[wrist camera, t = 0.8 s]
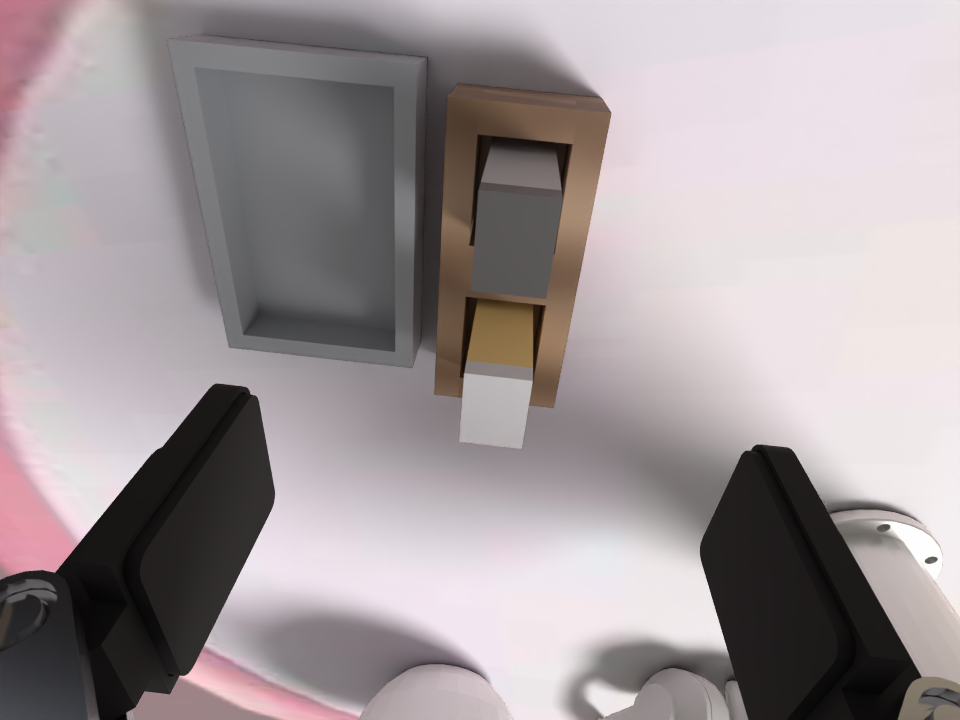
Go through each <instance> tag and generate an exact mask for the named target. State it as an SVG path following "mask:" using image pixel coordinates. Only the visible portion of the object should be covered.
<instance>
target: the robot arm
mask: <svg viewBox="0 0 960 720" xmlns="http://www.w3.org/2000/svg"><path fill="white" fill-rule="evenodd" d="M274 499H275V489H274V484H273V478H272V472H271V467H270V461H269V456H268V450H267V445H266V439H265V434H264V428H263V422H262V417H261V411H260V406H259V401H258V398H257V397H256V396H255V395H250V391H249V390H248V388H247V387H243V386H234V385H225V384H214V385H213V386H212V387H211V388H210V389H209V390H208V391H207V392H206V394H205V395H204V396H203V397H202V399H201V400H200V401H199V402H198V404H197V405H196V406H195V407H194V409H193V410H192V411H191V412H190V414H189V415H188V416H187V417H186V419H185V420H184V421H183V422H182V423H181V425H180V426H179V427H178V428H177V430H176V431H175V432H174V433H173V435H172V436H171V437H170V438H169V440H168V441H167V442H166V443H165V445H164V446H163V447H162V448H159V449H157V450H156V451H155V452H154V453H153V454H152V455H151V456H150V457H149V458H148V459H147V461H146V462H145V463H144V464H143V466H142V467H141V468H140V469H139V470H138V472H137V473H136V474H135V475H134V477H133V478H132V479H131V480H130V481H129V483H128V484H127V485H126V486H125V488H124V489H123V490H122V491H121V493H120V494H119V495H118V496H117V497H116V499H115V500H114V501H113V502H112V504H111V505H110V506H109V507H108V508H107V510H106V511H105V512H104V513H103V515H102V516H101V517H100V518H99V520H98V521H97V522H96V523H95V524H94V526H93V527H92V528H91V529H90V531H89V532H88V533H87V534H86V535H85V537H84V538H83V539H82V540H81V542H80V543H79V544H78V545H77V547H76V548H75V549H74V550H73V551H72V553H71V554H70V555H69V556H68V558H67V559H66V560H65V561H64V563H63V564H62V565H61V566H60V567H59V569H58V570H57V571H56V572H55V573H54V572H49V571H44V570H37V571H25V572H22V573H18V574H15V575H11V576H7V577H5V578H3V579H1V580H0V720H134V719H133V713H132V709H133V708H135V707H136V705H137V704H138V702H139V700H140V698H141V696H142V695H143V693H144V691H148V692H156V693H164V694H170V693H171V691H172V689H173V687H174V685H175V683H176V681H177V679H178V677H179V676H180V675H181V676H185V675H187V674H188V673H189V672H190V671H191V670H192V668H193V666H194V664H195V662H196V660H197V658H198V656H199V654H200V652H201V650H202V648H203V646H204V644H205V642H206V640H207V638H208V636H209V634H210V632H211V630H212V628H213V626H214V624H215V622H216V620H217V618H218V616H219V614H220V612H221V610H222V608H223V606H224V604H225V602H226V600H227V598H228V596H229V594H230V592H231V590H232V588H233V586H234V584H235V582H236V580H237V578H238V576H239V574H240V572H241V570H242V568H243V566H244V564H245V562H246V560H247V558H248V556H249V554H250V552H251V550H252V548H253V546H254V544H255V542H256V540H257V538H258V536H259V534H260V532H261V530H262V528H263V526H264V524H265V522H266V520H267V518H268V516H269V514H270V512H271V510H272V507H273V504H274ZM700 557H701V562H702V565H703V568H704V572H705V575H706V579H707V582H708V585H709V589H710V592H711V596H712V599H713V602H714V606H715V609H716V612H717V616H718V619H719V623H720V626H721V629H722V633H723V636H724V639H725V643H726V646H727V650H728V653H729V656H730V660H731V663H732V667H733V670H734V673H735V677H736V680H737V683H738V687H739V690H740V694H741V697H742V700H743V704H744V707H745V710H746V714H747V717H748V720H960V617H959V616H958V614H957V613H956V611H955V610H954V608H953V607H952V605H951V604H950V603H949V601H948V600H947V598H946V597H945V595H944V594H943V592H942V591H941V589H940V588H939V586H938V585H937V583H936V582H935V579H936V578H937V576H938V575H939V572H940V569H941V567H942V559H943V554H942V551H941V548H940V545H939V544H938V542H937V541H936V540H935V538H934V537H933V535H932V534H931V533H930V531H929V530H928V529H927V528H925V527H924V526H923V525H922V524H921V523H919V522H918V521H916V520H914V519H912V518H910V517H908V516H905V515H901V514H898V513H895V512H889V511H882V510H860V509H859V510H849V511H841V512H836V513H831V514H829V513H828V511H827V510H826V508H825V506H824V504H823V502H822V501H821V499H820V497H819V495H818V494H817V492H816V490H815V488H814V486H813V485H812V483H811V481H810V479H809V478H808V476H807V474H806V472H805V471H804V469H803V467H802V465H801V463H800V462H799V460H798V458H797V456H796V455H795V453H794V452H793V451H792V449H790V448H786V447H778V446H769V445H755V446H754V447H753V448H752V450H751V451H745V452H744V453H743V454H742V455H741V457H740V460H739V462H738V464H737V466H736V468H735V470H734V472H733V474H732V477H731V479H730V481H729V483H728V485H727V487H726V489H725V492H724V494H723V496H722V498H721V500H720V502H719V504H718V507H717V509H716V511H715V513H714V515H713V517H712V519H711V521H710V524H709V526H708V528H707V530H706V532H705V534H704V536H703V539H702V541H701V545H700Z"/></svg>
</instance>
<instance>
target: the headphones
mask: <svg viewBox="0 0 960 720" xmlns="http://www.w3.org/2000/svg"><path fill="white" fill-rule="evenodd" d="M725 698H726V702H725V699H724V697H723V696H722V694H721V693H720V692H719V690H718V689H717V688H716V686H715V685H714V684H713V683H711V682H710V681H708V680H707V679H705V678H704V677H702V676H699V675H696V674H694V673H691V672H689V671H685V670H681V669H676V668H669V669H664V670H661V671H659V672H657V673H656V674H654V675H652V676H651V677H650V678H649V679H648V681H647V682H646V683H645V684H644V685H643V687H642V689H641V691H640V692H639V693H638V695H637V697H636V699H635V702H634V705H633V706H631V707H628V708H626V709H623V710H621V711H619V712H616V713H613V714H611V715H609V716H606V717H605V718H601V717H600V718H598V720H748V717H747V714H746V710H745V707H744V704H743V700H742V697H741V694H740V690H739V687H738V683H737V681H728V682H726V686H725Z"/></svg>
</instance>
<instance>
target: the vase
mask: <svg viewBox="0 0 960 720" xmlns="http://www.w3.org/2000/svg"><path fill="white" fill-rule="evenodd" d="M358 720H514V719H513V717H512V715H511V714H510V712H509V710H508V708H507V706H506V704H505V702H504V701H503V700H502V698H501V697H500V696H499V694H498V693H497V692H496V691H495V690H494V689H493V687H492V686H491V685H490V684H489V683H488V682H487V681H486V680H485V679H483V678H482V677H481V676H480V675H478V674H476V673H474V672H472V671H470V670H467V669H464V668H460V667H457V666H451V665H445V664H427V665H421V666H416V667H413V668H411V669H408V670H407V671H405V672H404V673H402V674H400V675H399V676H397V677H396V678H394V679H393V680H391V681H390V682H389V683H387V684H386V685H385V686H384V687H383V688H382V689H381V690H380V691H379V692H378V693H377V694H376V696H375V697H374V698H373V699H372V700H371V701H370V702H369V703H368V704H367V706H366V707H365V709H364V711H363V712H362V714H361V716H360V717H359V719H358Z"/></svg>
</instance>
